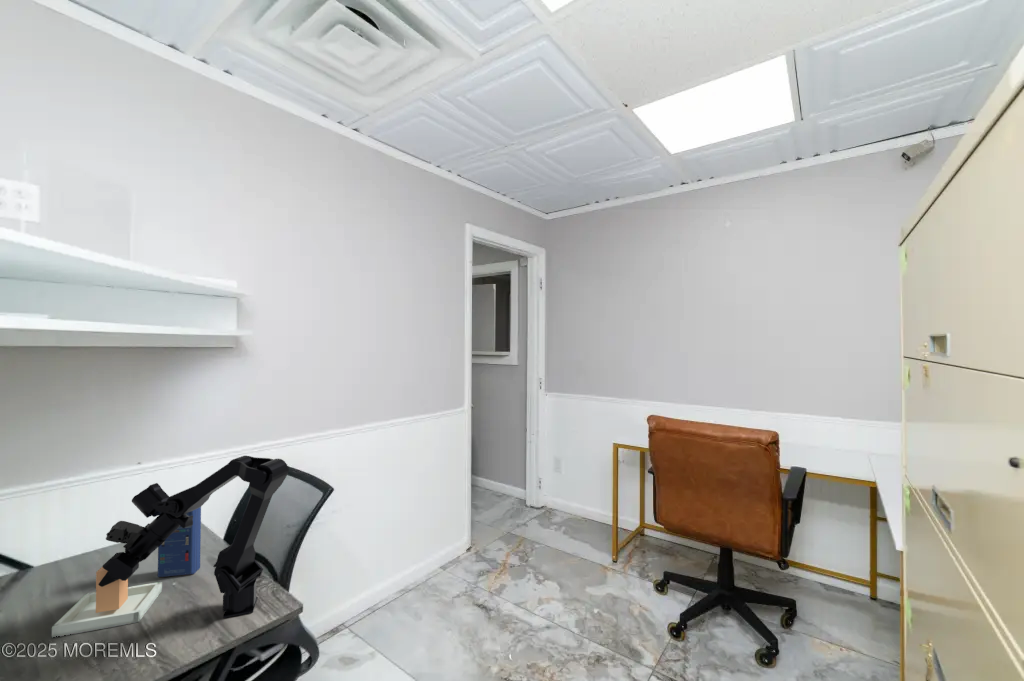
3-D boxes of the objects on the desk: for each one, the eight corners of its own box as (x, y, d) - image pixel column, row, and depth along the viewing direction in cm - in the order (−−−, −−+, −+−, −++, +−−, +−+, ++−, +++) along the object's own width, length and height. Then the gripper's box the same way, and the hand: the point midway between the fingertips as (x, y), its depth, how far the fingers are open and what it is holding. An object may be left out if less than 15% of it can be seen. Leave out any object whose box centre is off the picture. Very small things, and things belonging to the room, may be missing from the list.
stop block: (127, 598, 110) (128, 560, 110) (118, 608, 106) (119, 568, 106) (105, 602, 108) (105, 563, 108) (95, 612, 104) (96, 572, 104)
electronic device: (155, 579, 122) (156, 509, 122) (166, 569, 127) (167, 503, 127) (192, 575, 124) (193, 507, 124) (201, 566, 129) (202, 500, 129)
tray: (161, 590, 116) (162, 581, 116) (138, 622, 103) (138, 611, 103) (86, 603, 111) (86, 593, 111) (51, 638, 98) (51, 627, 98)
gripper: (148, 498, 117) (97, 545, 113) (114, 525, 100) (51, 581, 96) (183, 522, 120) (133, 569, 116) (155, 552, 103) (95, 608, 99)
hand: (105, 580), depth 107 cm, fingers closed on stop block, 4 cm apart
